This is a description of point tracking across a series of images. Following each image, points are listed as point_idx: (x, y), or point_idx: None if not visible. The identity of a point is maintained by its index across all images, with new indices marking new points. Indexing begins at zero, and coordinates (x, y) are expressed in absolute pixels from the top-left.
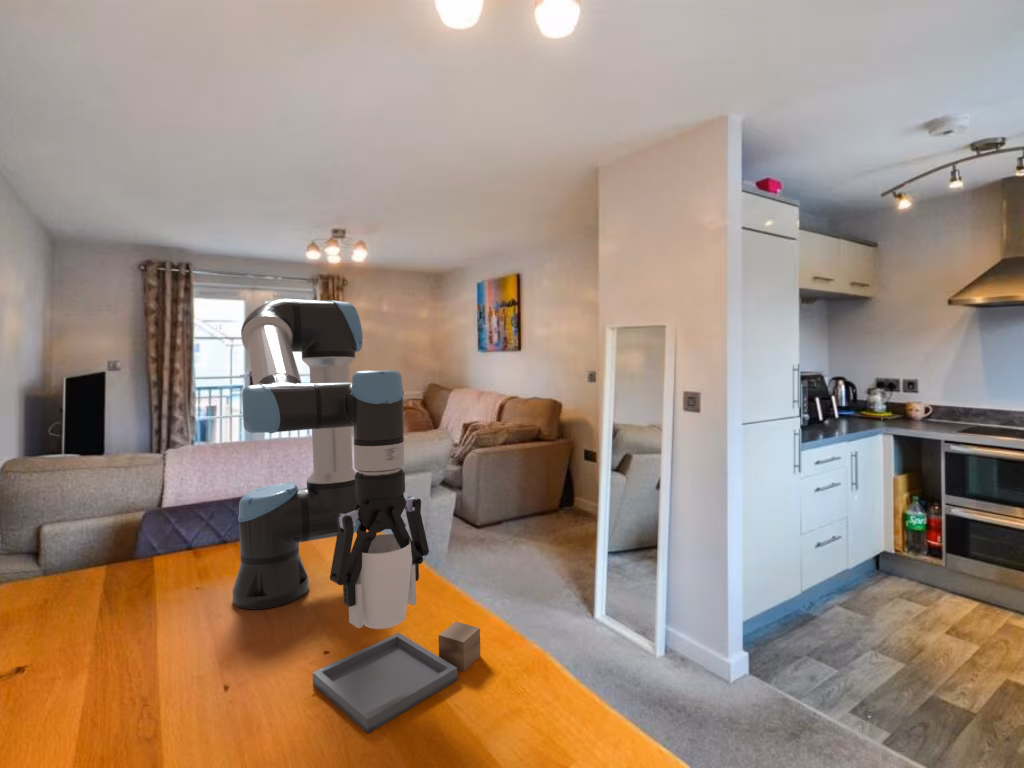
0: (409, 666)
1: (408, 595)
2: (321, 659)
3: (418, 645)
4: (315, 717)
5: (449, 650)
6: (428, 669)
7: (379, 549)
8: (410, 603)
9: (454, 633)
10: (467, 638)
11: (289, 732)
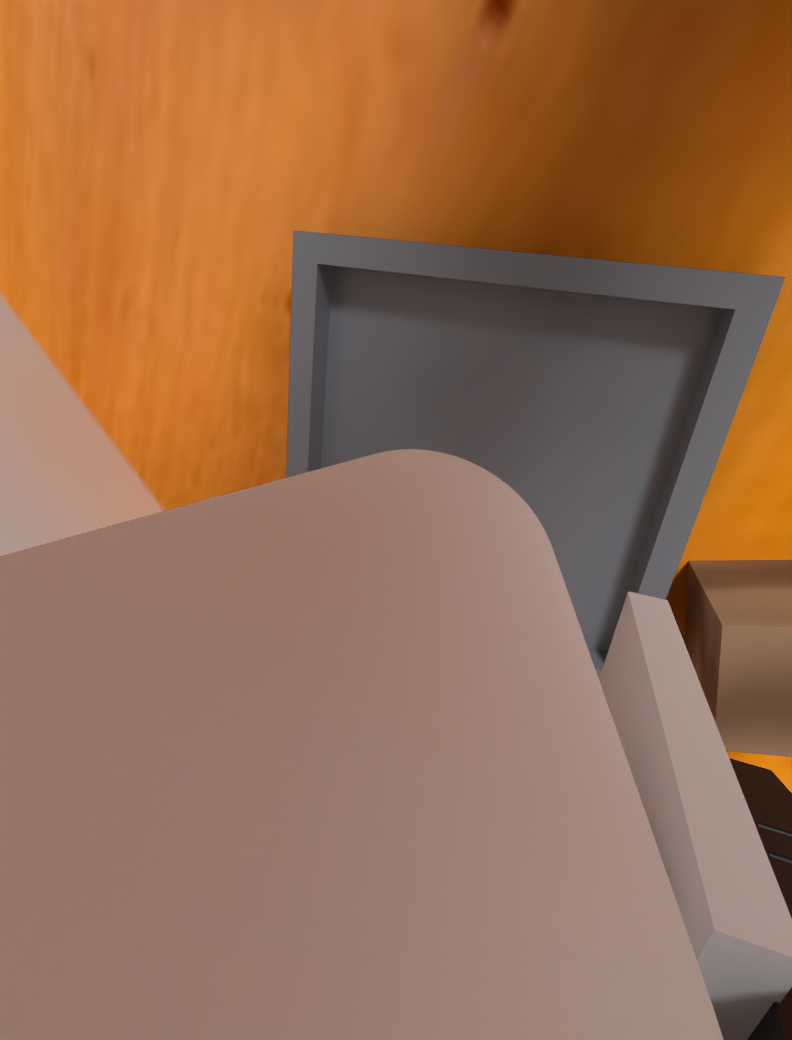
0: (589, 494)
1: (613, 698)
2: (441, 59)
3: (706, 472)
4: (245, 411)
5: (702, 646)
6: (610, 569)
7: (445, 859)
8: (601, 681)
9: (773, 685)
10: (754, 752)
11: (175, 403)
